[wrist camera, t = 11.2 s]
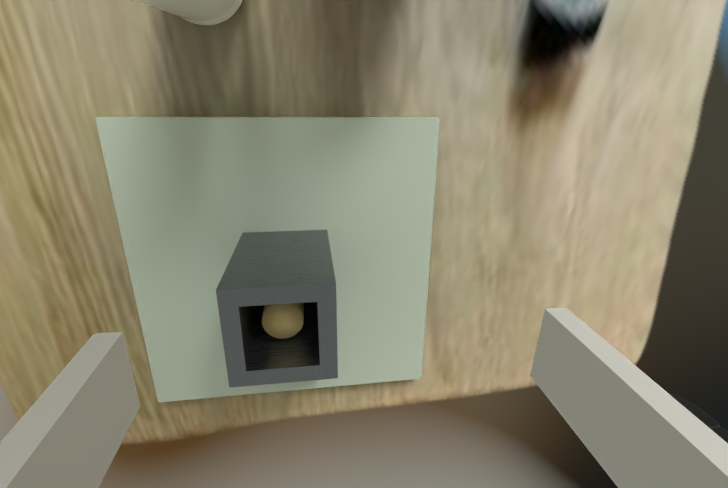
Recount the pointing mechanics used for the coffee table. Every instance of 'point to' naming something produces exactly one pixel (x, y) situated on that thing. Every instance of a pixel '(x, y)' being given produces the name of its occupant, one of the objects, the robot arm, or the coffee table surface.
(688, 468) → the robot arm
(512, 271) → the coffee table surface
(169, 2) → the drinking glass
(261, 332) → the square collar
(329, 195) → the post board
